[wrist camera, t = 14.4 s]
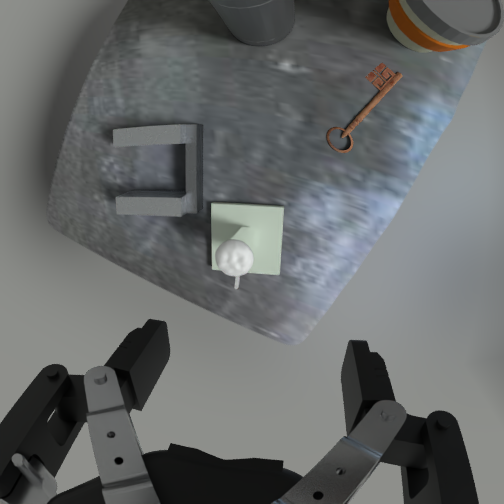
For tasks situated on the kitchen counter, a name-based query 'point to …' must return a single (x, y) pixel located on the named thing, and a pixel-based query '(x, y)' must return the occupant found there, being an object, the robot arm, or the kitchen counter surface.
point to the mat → (260, 221)
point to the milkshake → (237, 253)
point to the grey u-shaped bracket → (163, 199)
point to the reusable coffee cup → (444, 23)
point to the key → (374, 101)
